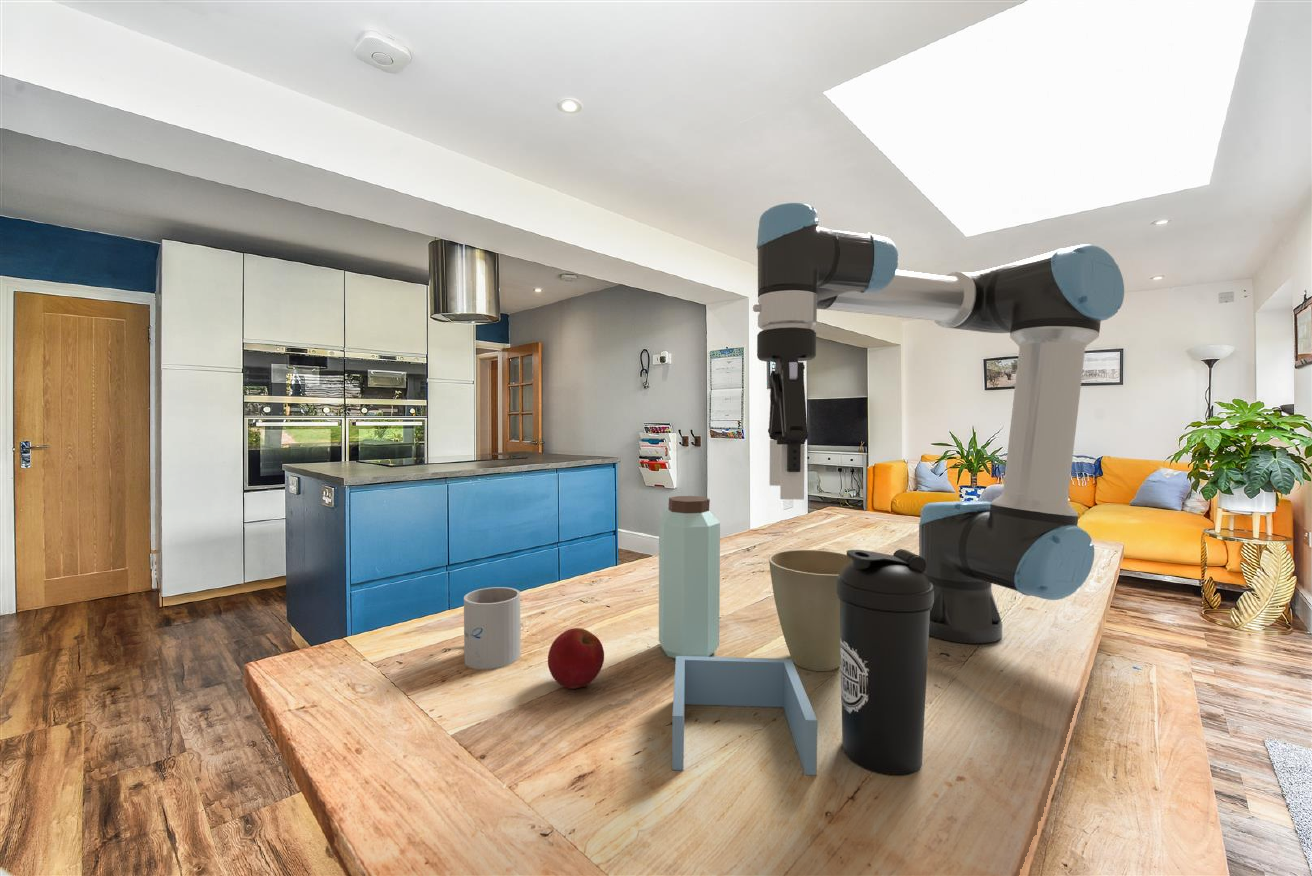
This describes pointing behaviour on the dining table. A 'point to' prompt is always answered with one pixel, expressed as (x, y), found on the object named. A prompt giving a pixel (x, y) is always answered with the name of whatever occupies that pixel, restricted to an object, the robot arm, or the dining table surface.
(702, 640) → the water bottle
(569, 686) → the apple
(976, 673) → the dining table surface
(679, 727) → the u rest
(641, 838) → the dining table surface
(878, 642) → the water bottle
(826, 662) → the plant pot
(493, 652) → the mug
